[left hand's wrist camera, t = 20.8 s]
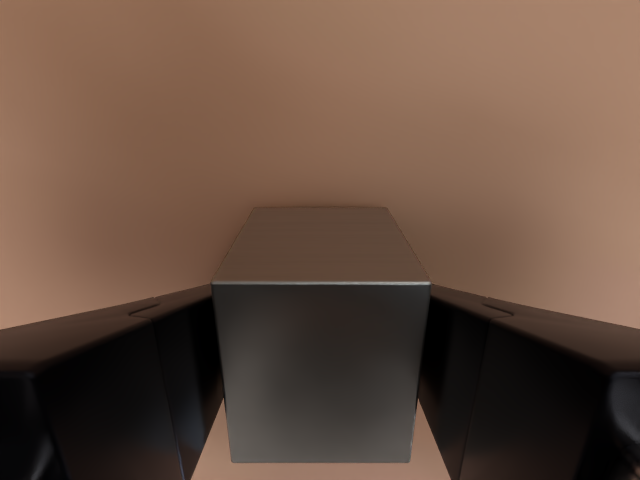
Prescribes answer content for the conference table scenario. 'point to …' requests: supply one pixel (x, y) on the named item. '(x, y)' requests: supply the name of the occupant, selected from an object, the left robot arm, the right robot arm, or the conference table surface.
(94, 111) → the conference table surface
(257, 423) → the grey metal block
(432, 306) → the left robot arm
